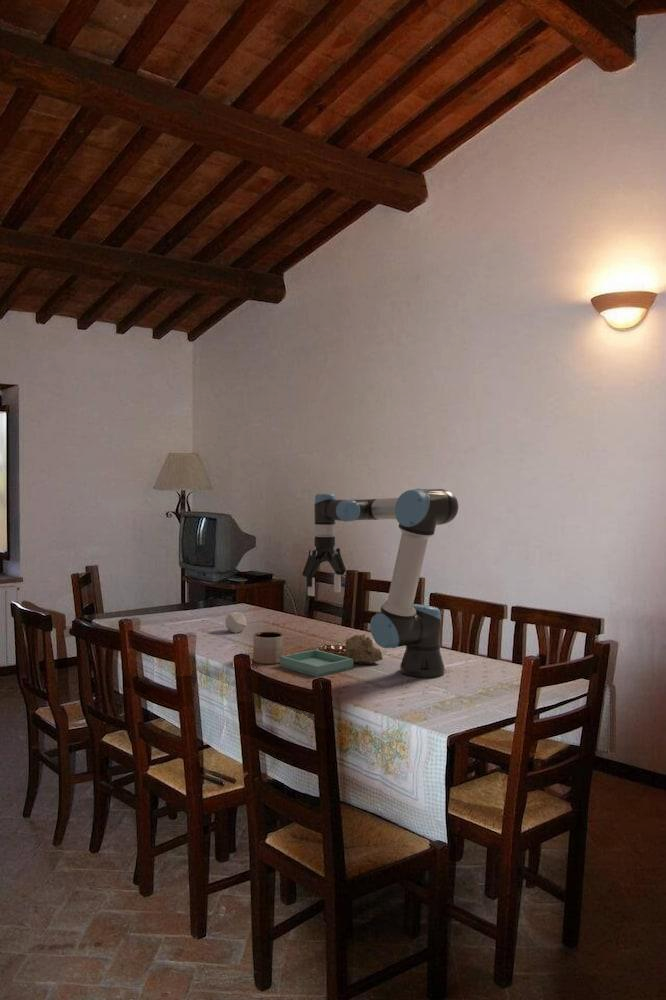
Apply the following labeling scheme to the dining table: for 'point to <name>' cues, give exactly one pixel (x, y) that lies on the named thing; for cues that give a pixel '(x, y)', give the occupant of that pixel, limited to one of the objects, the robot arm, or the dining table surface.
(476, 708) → the dining table surface
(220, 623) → the dining table surface
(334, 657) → the glazed dish
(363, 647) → the rock
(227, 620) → the die
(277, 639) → the planter
